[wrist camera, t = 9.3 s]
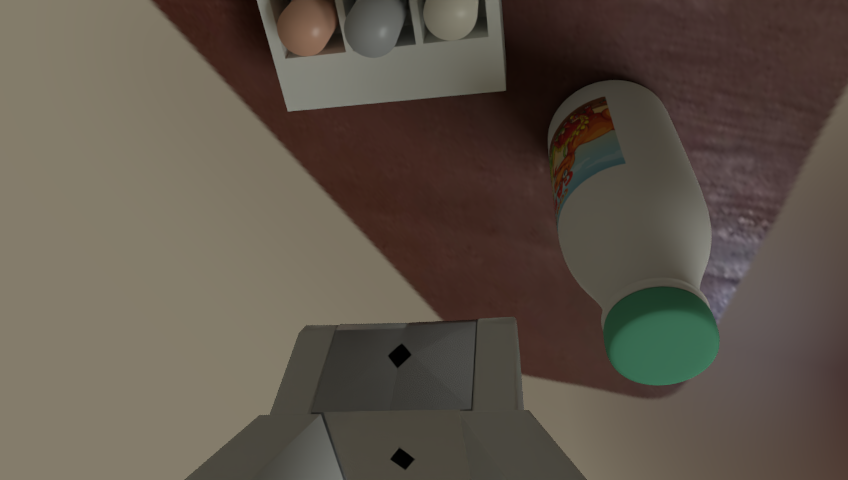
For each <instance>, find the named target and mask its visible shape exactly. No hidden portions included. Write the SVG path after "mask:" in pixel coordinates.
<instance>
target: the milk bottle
mask: <svg viewBox="0 0 848 480" xmlns="http://www.w3.org/2000/svg"><path fill="white" fill-rule="evenodd" d="M548 154H549V164H550V174H551V183H552V193H553V201H554V210H555V218H556V225H557V231H558V236H559V242H560V247H561V250H562V253H563V256H564V259H565V261H566V264H567V266H568V268H569V270H570V272H571V273H572V275H573V276H574V278H575V279H576V281H577V282H578V283H579V285H580V286H581V287H582V288H583V289H584V290H585V291H586V292H587V293H588V294H589V295H590V296H591V297H592V298H593V299H594V300H595V301H596V302H597V303H598V304H599V305H600V306H601V308H602V309H603V312H602V317H601V324H602V328H603V334H604V343H605V348H606V352H607V356H608V358H609V360H610V362H611V364H612V365H613V367H614V368H615V369H616V370H617V371H618V372H619V373H620V374H621V375H623V376H624V377H626V378H628V379H630V380H632V381H635V382H638V383H642V384H648V385H669V384H675V383H679V382H682V381H685V380H688V379H690V378H692V377H694V376H696V375H698V374H700V373H701V372H702V371H704V370H705V369H706V368H707V367H708V366H709V365H710V364H711V363H712V362H713V360H714V359H715V357H716V355H717V353H718V349H719V332H718V328H717V325H716V322H715V319H714V317H713V314H712V312H711V310H710V306H709V303H708V300H707V298H706V297H705V295H704V294H703V293H702V292H701V291H700V283H701V279H702V276H703V274H704V271H705V269H706V266H707V263H708V259H709V255H710V249H711V224H710V218H709V213H708V209H707V206H706V203H705V200H704V197H703V194H702V192H701V189H700V186H699V184H698V181H697V179H696V176H695V174H694V172H693V169H692V167H691V164H690V162H689V160H688V157H687V155H686V153H685V151H684V148H683V146H682V144H681V141H680V139H679V137H678V134H677V132H676V130H675V128H674V125H673V123H672V121H671V119H670V116H669V114H668V112H667V110H666V109H665V107H664V105H663V103H662V102H661V101H660V99H659V98H658V97H657V96H656V95H655V94H654V93H653V92H651V91H650V90H648V89H647V88H645V87H643V86H641V85H639V84H636V83H633V82H629V81H623V80H608V81H600V82H596V83H593V84H590V85H587V86H585V87H584V88H581V89H580V90H578V91H576V92H575V93H573V94H572V95H571V96H569V97H568V98H567V99H566V100H565V101H564V102H563V103H562V104H561V106H560V107H559V108H558V109H557V111H556V113H555V114H554V116H553V118H552V121H551V123H550V127H549V131H548Z"/></svg>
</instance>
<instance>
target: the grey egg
mask: <svg viewBox="0 0 848 480" xmlns="http://www.w3.org/2000/svg"><path fill="white" fill-rule="evenodd" d="M407 12H408V0H356V2H355V4H354V5H353V7H352V9H351V10H350V12H349V14H348V16H347V17H346V20H345V23H344V34H345V38H346V40H347V42H348V44H349V45H350V47H351V48H352V49H353V50H354V51H355V52H357V53H358V54H360V55H362V56H365V57H369V58H377V57H381V56H384V55H386V54H387V53H389V52H390V51H391V50H392V49H393V48H394V46H395V44H396V42H397V39H398V37H399V34H400V31H401V29H402V26H403V23H404V21H405V18H406V15H407Z"/></svg>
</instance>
